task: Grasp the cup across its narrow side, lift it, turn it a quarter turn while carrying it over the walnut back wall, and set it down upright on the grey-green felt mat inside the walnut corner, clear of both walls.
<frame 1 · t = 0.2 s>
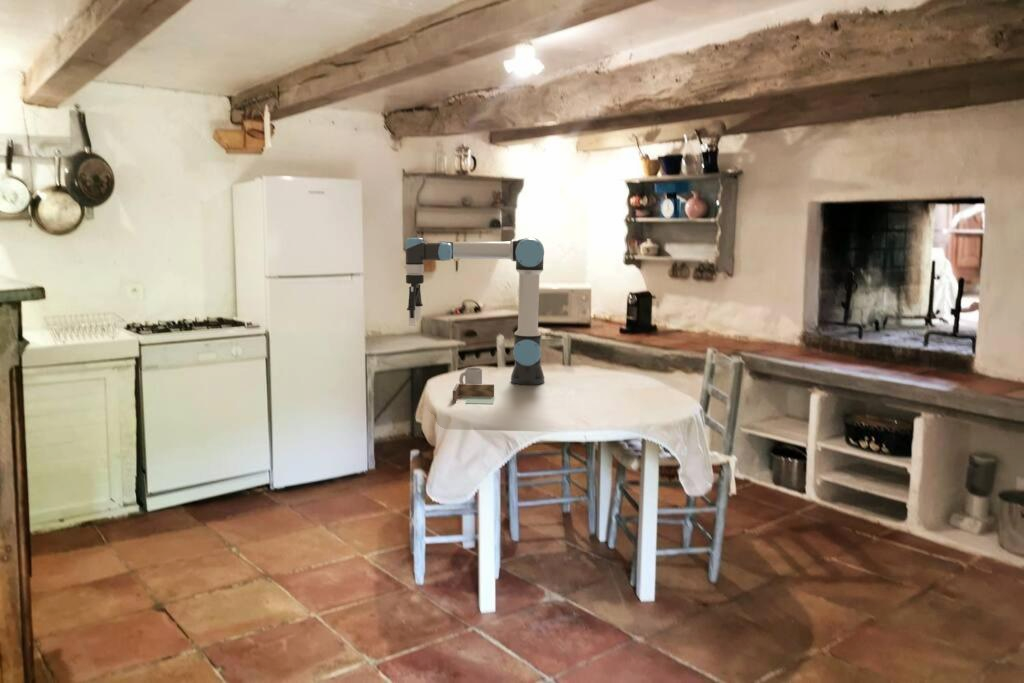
hand: (415, 323, 343), 27 cm above the table, fingers open, 13 cm apart
cup: (470, 390, 341), on the table
corner walls: (475, 400, 322), on the table
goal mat: (480, 400, 321), on the table
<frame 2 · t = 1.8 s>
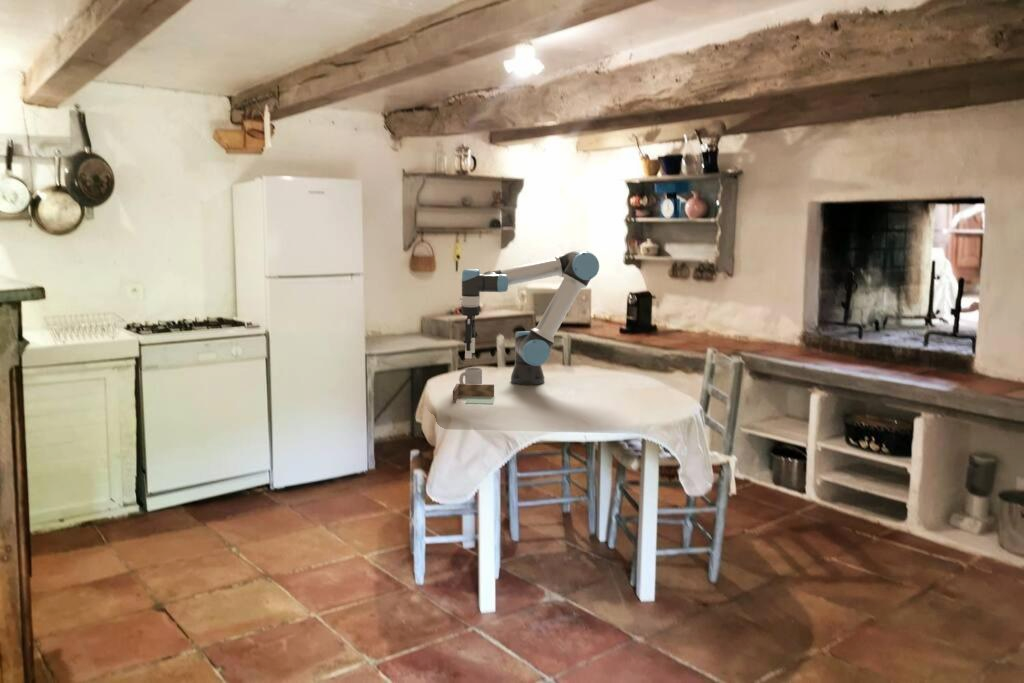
hand: (469, 355, 338), 15 cm above the table, fingers open, 13 cm apart
nothing on the table moved.
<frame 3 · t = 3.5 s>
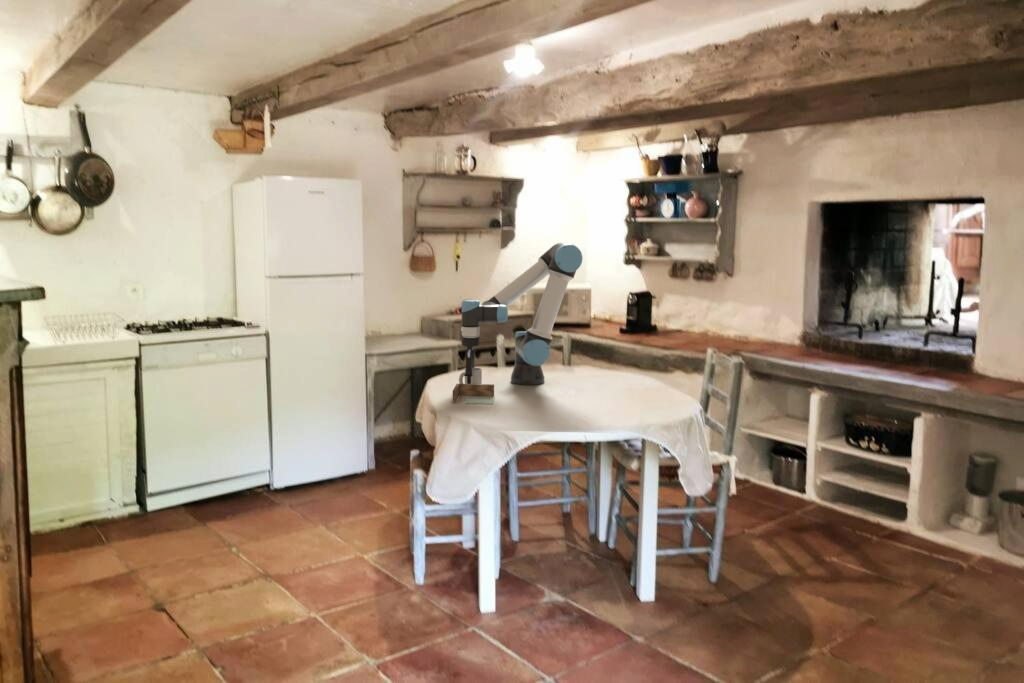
hand: (470, 389, 341), 0 cm above the table, fingers closed on cup, 7 cm apart
cup: (470, 390, 340), on the table, touching gripper
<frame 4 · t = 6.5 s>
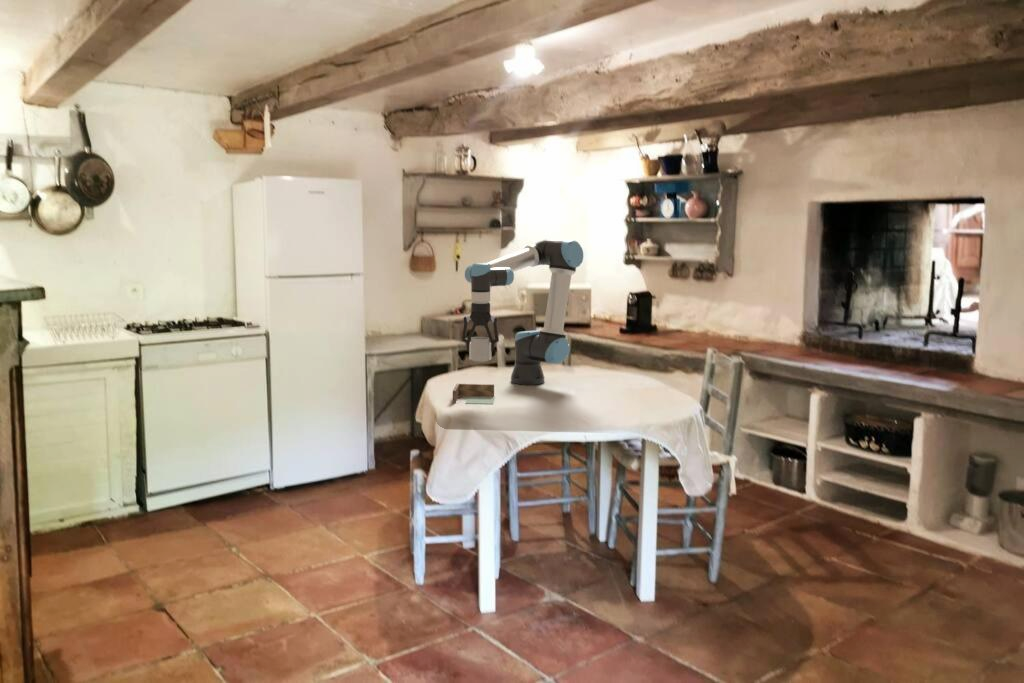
hand: (480, 359, 319), 17 cm above the table, fingers closed on cup, 7 cm apart
cup: (479, 360, 319), point 17 cm above the table, touching gripper
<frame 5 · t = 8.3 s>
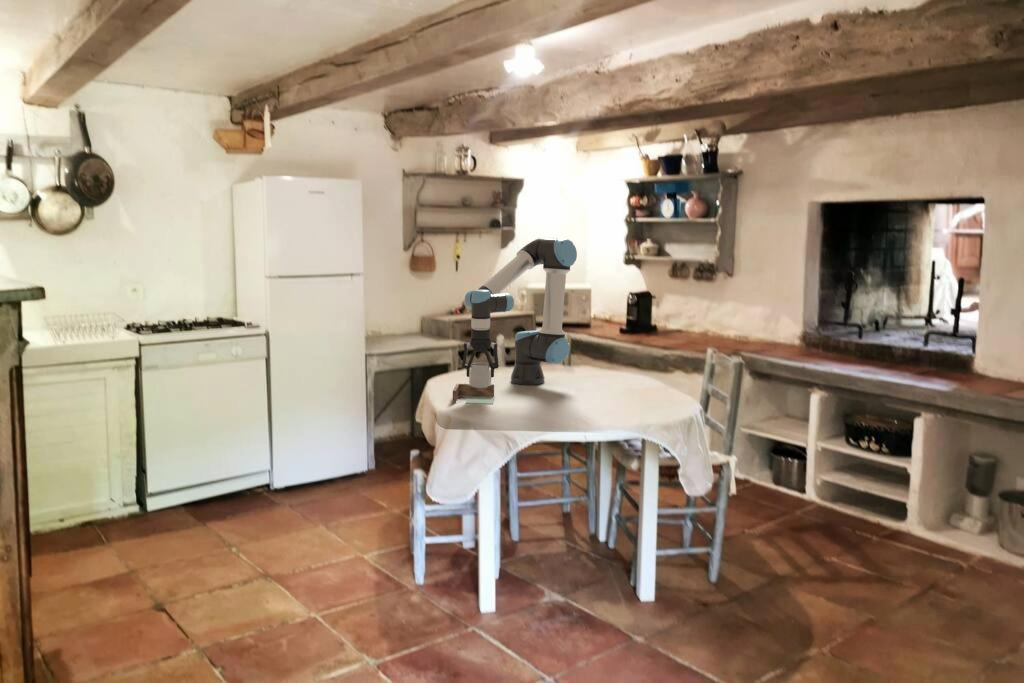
hand: (480, 384, 320), 6 cm above the table, fingers closed on cup, 7 cm apart
cup: (478, 386, 320), point 6 cm above the table, touching gripper
when the fingers open (2 cm above the table, at t = 9.6 s): cup drops 2 cm, resting on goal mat.
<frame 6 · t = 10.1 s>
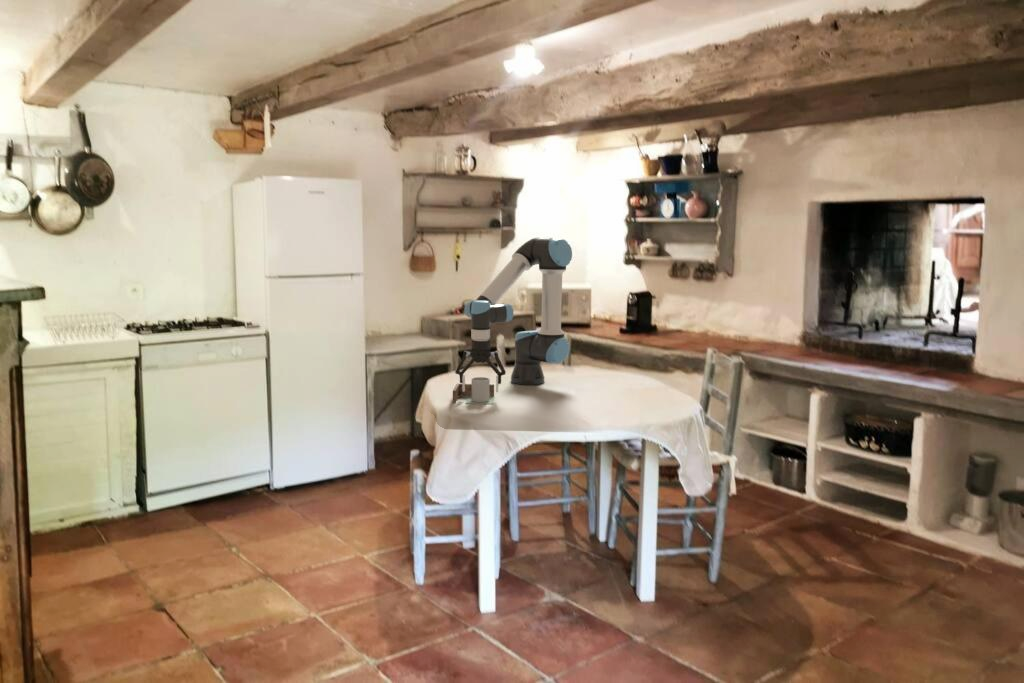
hand: (480, 391, 321), 4 cm above the table, fingers open, 13 cm apart
cup: (479, 400, 321), resting on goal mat
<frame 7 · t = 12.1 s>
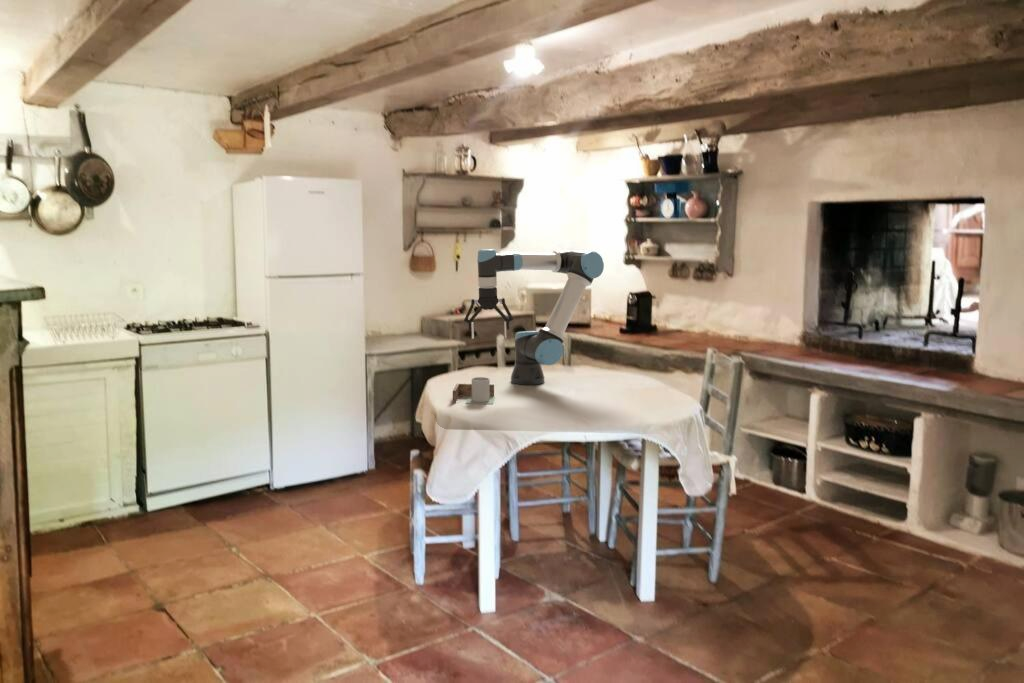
hand: (489, 338, 330), 24 cm above the table, fingers open, 13 cm apart
nothing on the table moved.
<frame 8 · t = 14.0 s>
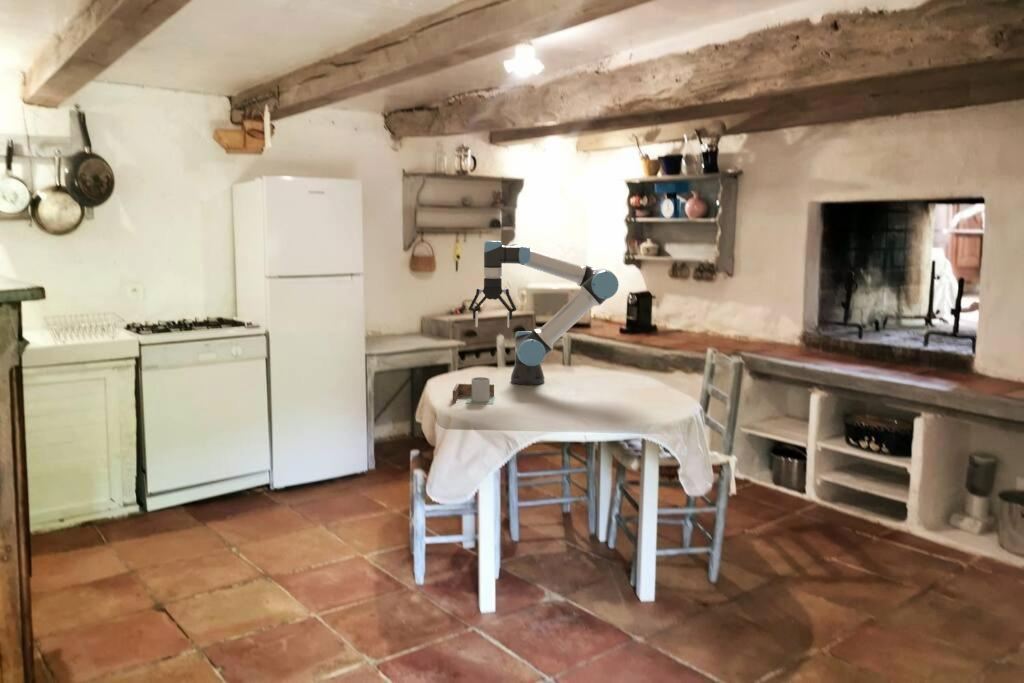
hand: (492, 327, 340), 27 cm above the table, fingers open, 13 cm apart
nothing on the table moved.
at the end: cup inside the target area (0.4 cm from its centre), resting on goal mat; cup tilted 0°; cup touching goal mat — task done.
